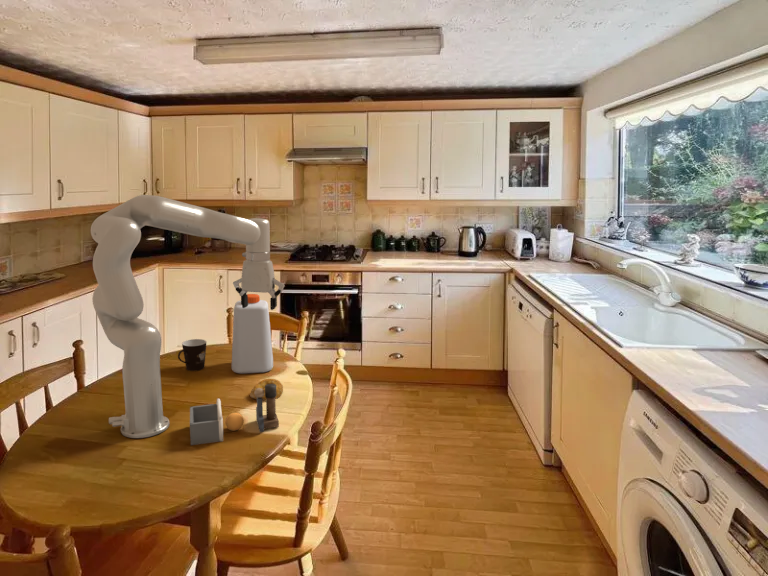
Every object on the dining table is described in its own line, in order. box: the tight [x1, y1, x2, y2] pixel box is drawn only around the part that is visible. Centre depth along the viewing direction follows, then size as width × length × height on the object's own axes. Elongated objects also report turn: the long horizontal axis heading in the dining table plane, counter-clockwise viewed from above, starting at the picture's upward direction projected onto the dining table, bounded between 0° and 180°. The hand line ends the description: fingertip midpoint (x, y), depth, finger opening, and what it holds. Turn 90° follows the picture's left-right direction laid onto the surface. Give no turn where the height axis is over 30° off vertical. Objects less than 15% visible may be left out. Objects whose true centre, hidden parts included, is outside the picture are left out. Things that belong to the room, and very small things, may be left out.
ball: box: [225, 412, 245, 432], centre depth 149 cm, size 5×5×5 cm
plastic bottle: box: [231, 293, 274, 374], centre depth 196 cm, size 15×15×28 cm
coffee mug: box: [177, 338, 207, 372], centre depth 194 cm, size 12×9×10 cm
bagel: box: [249, 378, 284, 401], centre depth 173 cm, size 10×11×5 cm
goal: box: [189, 397, 224, 446], centre depth 146 cm, size 8×12×8 cm
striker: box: [254, 384, 280, 433], centre depth 151 cm, size 6×8×12 cm
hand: (259, 308), depth 172 cm, fingers open, 9 cm apart
